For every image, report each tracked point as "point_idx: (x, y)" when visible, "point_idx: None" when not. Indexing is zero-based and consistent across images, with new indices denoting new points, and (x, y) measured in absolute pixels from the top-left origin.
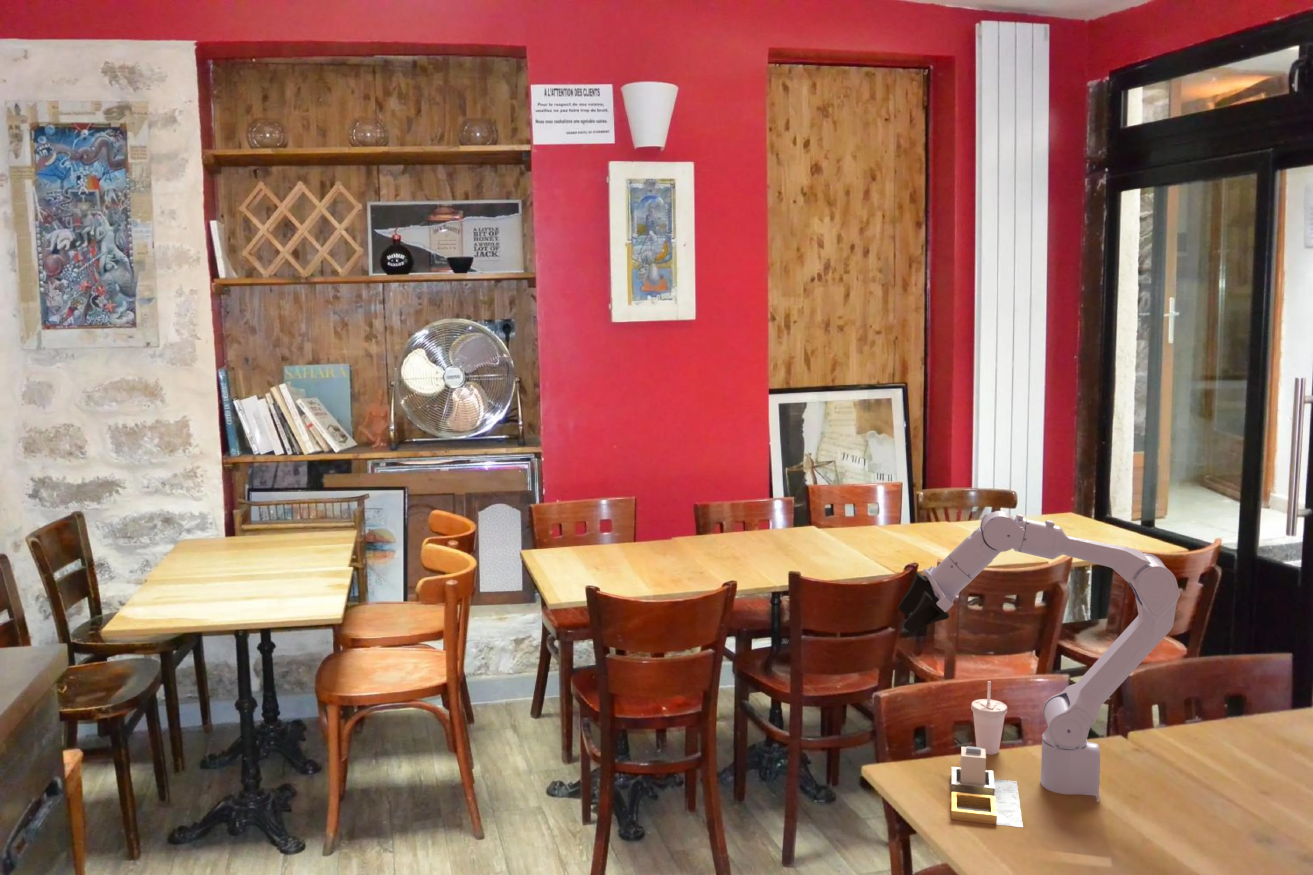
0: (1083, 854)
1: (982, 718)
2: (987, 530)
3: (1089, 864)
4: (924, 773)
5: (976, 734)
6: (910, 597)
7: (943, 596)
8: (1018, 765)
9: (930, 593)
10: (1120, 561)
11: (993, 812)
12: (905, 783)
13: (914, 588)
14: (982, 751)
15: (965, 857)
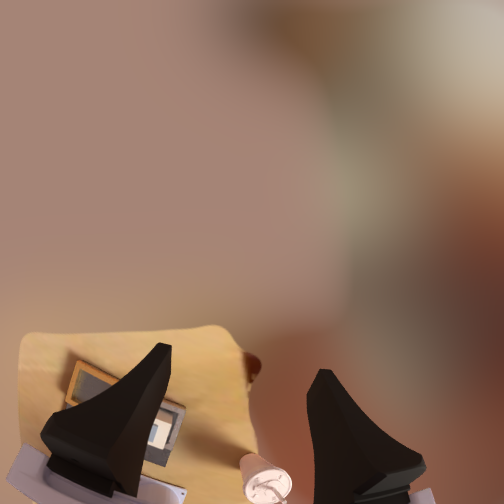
0: (34, 442)
1: (250, 473)
2: None
3: (21, 435)
4: (206, 383)
5: (256, 460)
6: (332, 418)
7: (20, 485)
8: (220, 483)
9: (324, 493)
10: None
11: (71, 401)
12: (182, 352)
13: (349, 442)
14: (154, 443)
15: (30, 341)
